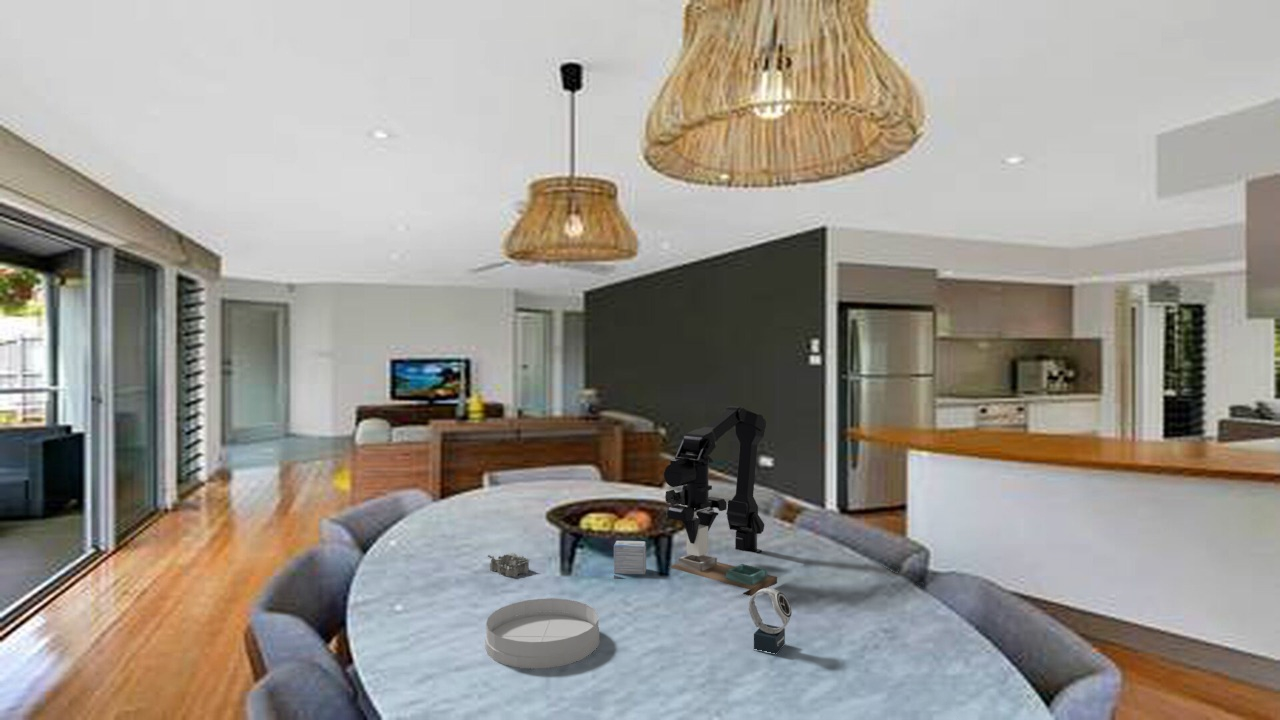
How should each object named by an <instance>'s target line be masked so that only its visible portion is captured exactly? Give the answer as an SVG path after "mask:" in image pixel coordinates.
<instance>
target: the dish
mask: <svg viewBox="0 0 1280 720" xmlns="http://www.w3.org/2000/svg"><path fill="white" fill-rule="evenodd" d="M599 620H600V619H599V614H598V612H597V611H596V609H595V608H594V607H592V606H590V605H589V604H586V603H583V602H581V601H578V600H571V599H565V598H550V597H549V598H537V599H529V600H522V601H518V602H513V603H511V604H508V605H505V606H502V607H500V608H498V609H496V610H495V611H494V612H492V613H491V614H490V615H489V616H488V617H487V620H486V624H485V626H486V627H485V628H486V629H485V630H486V631H485V634H486V635H485V638H484V643H485V645H484V646H485V649H484V650H485V652H486V655H487V656H488V657H490V658H491V659H492V660H493V661H494V662H497V663H499V664H502V665H505V666H508V665H509V667H513V668H517V667H520V668H521V669H530V668H531V669H532V670H534V669H533V668H535V670H536V669H551V668H557V667H562V666H567V665H570V664H573V662H574V663H577V662H579V661H581V660H583V659H586V658H587V657H589V656H590V655H591V653H592V652H593V651H594V650H595V651H596V650H597V649H598V647H599V645H600V627H599ZM596 648H597V649H596ZM595 651H594V652H595ZM594 652H593V653H594ZM593 653H592V654H593ZM589 654H590V655H589ZM588 655H589V656H588ZM586 656H587V657H586ZM576 661H577V662H576ZM556 666H557V667H556ZM550 667H551V668H550ZM520 668H519V669H520Z"/></svg>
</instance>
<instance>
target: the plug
mask: <svg viewBox="0 0 1280 720" xmlns="http://www.w3.org/2000/svg"><path fill="white" fill-rule="evenodd" d="M689 554H691V555H695V556H701V555H707V554H709V531H708V526H705V525H700V524H699V527H698V531H697V536H696V540H695V543H694V544H692V543H690V540H689V538H688V535H687V534H686V555H689Z"/></svg>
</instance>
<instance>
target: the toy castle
mask: <svg viewBox="0 0 1280 720" xmlns="http://www.w3.org/2000/svg"><path fill="white" fill-rule="evenodd" d="M487 558H489V559H491V560H490V562H489V570H490V571H491V572H497V574H499V575H501V574H503V575H504V574H505V576H506V577H507V578H508V577H509V578H510V577H518V574H528V573H529V571H530V570H529V569H530V568H529V567H530V564H529V563H530V561H531V558H528V557H527V558H526V557H524V556H523V555H522V556H521V555H517V554H516V553H514V552H512V553H508V554H503V555H502V556H501V555H499V556H498V558H497V559H495V556H493V555H492V556H491V555H490V554H488V555H487Z"/></svg>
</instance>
